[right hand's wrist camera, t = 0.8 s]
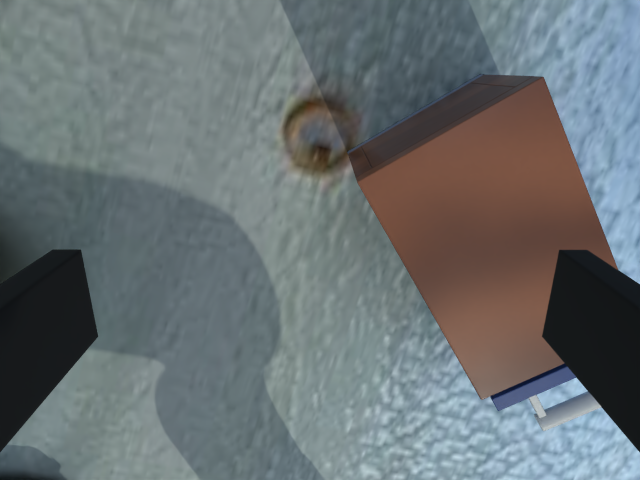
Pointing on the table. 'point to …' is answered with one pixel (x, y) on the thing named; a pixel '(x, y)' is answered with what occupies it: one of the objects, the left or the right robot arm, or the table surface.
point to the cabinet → (483, 218)
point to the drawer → (541, 384)
